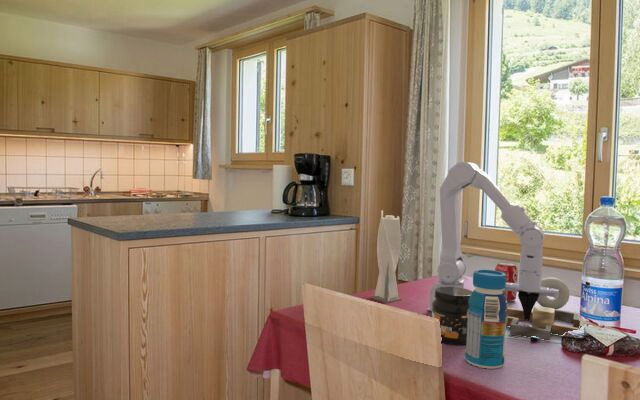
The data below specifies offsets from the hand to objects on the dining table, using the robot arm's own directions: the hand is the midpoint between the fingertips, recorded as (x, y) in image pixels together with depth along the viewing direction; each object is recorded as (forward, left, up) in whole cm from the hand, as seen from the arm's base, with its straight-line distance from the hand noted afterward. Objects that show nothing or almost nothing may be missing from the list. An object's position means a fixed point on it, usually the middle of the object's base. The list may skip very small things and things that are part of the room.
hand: (527, 319), depth 138 cm
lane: (+1, -3, -1) cm, 3 cm away
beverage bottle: (-34, -11, -2) cm, 35 cm away
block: (+2, -4, -1) cm, 4 cm away
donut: (+20, +5, -2) cm, 21 cm away
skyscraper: (-17, +39, -2) cm, 42 cm away
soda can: (+17, +19, -2) cm, 26 cm away
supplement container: (-28, +3, -2) cm, 28 cm away
